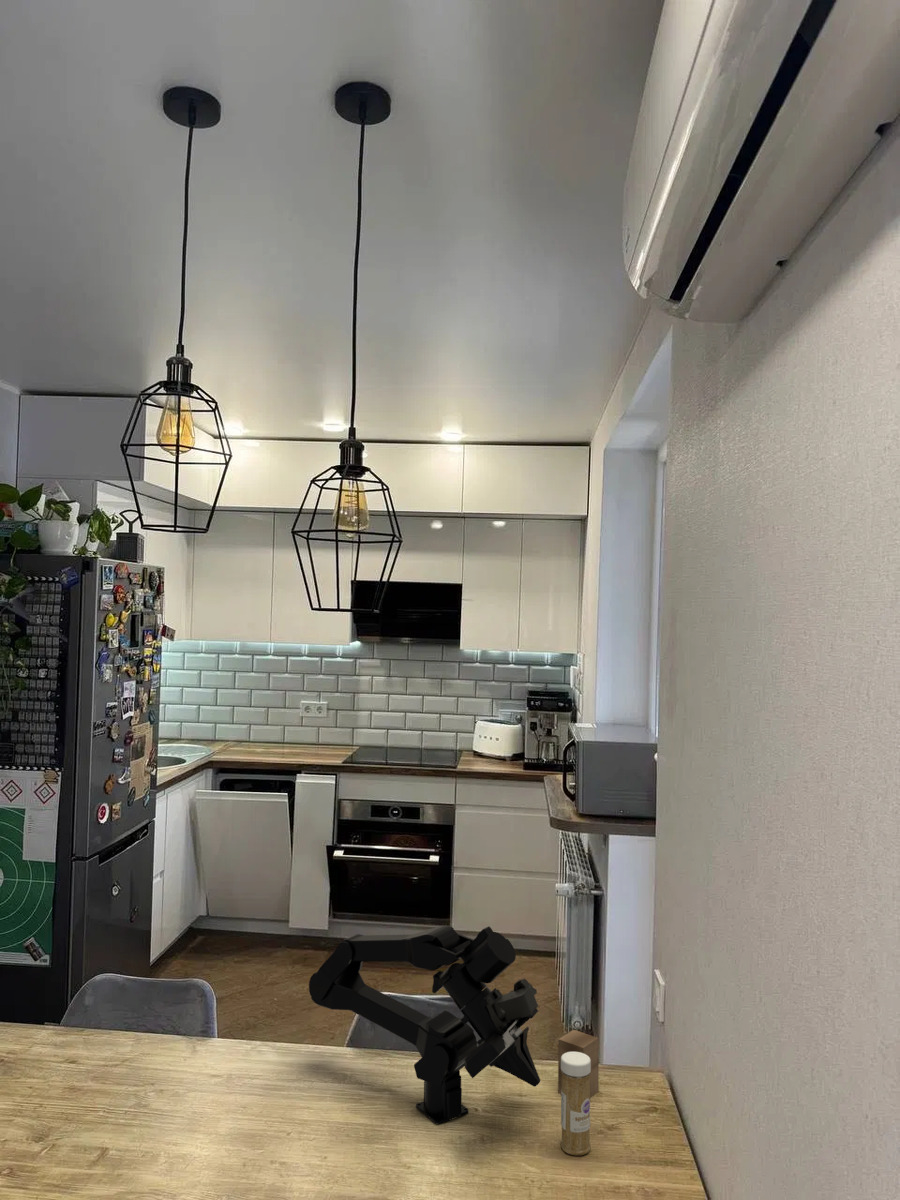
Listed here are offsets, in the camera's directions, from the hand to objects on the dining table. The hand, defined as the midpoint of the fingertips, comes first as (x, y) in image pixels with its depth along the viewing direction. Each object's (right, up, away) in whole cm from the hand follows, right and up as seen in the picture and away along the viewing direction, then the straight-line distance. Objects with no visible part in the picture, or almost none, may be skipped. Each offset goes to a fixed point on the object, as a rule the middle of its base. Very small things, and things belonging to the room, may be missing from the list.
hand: (537, 1084), depth 132 cm
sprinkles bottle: (+5, -8, -3) cm, 10 cm away
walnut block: (+8, -9, +13) cm, 18 cm away
